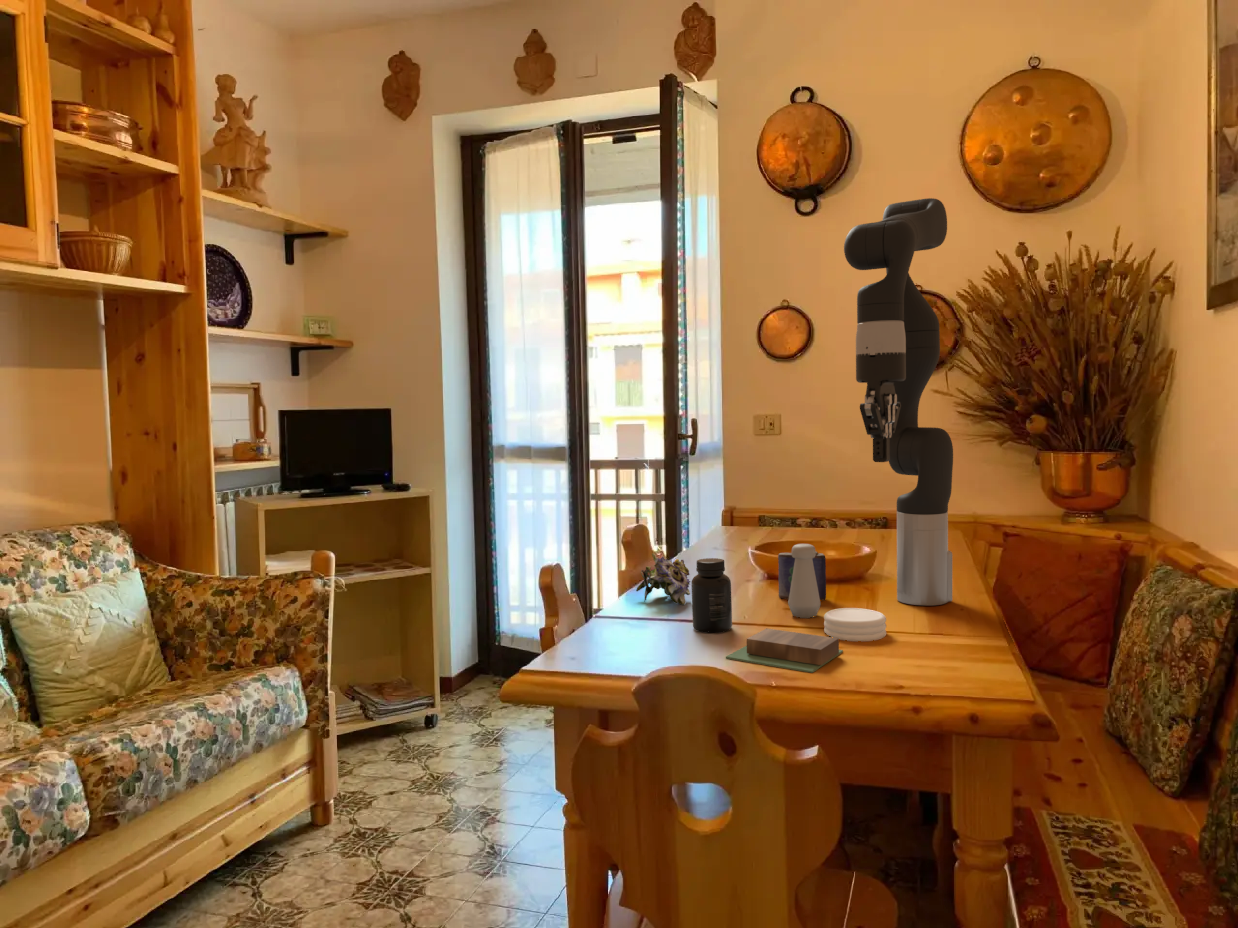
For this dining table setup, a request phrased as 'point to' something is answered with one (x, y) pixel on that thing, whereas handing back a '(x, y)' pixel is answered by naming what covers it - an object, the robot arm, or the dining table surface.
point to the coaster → (855, 624)
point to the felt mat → (775, 661)
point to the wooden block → (793, 646)
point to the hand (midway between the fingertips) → (881, 461)
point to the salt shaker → (804, 583)
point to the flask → (786, 574)
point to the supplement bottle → (711, 597)
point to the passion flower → (667, 579)
